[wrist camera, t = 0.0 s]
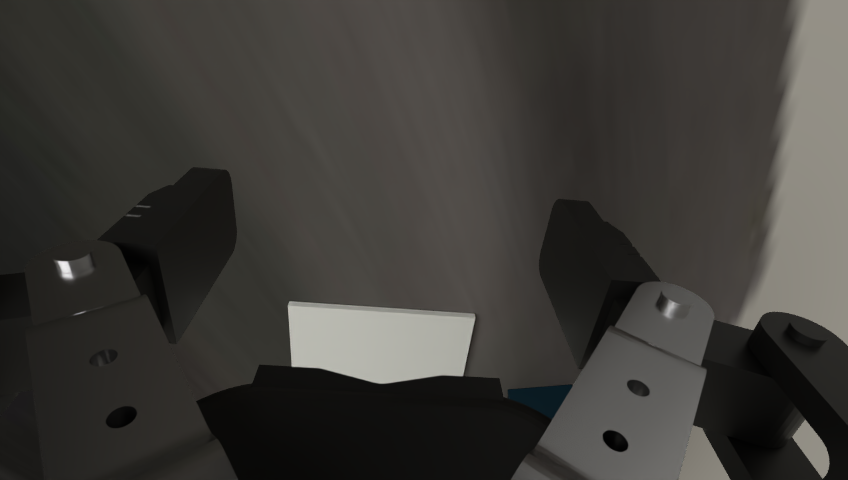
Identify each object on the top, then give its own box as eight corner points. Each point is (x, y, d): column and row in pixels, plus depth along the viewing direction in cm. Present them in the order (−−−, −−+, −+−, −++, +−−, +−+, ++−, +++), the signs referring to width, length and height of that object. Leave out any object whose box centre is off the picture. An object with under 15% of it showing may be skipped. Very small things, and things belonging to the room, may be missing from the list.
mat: (289, 301, 35) (288, 305, 35) (474, 313, 36) (475, 318, 36) (298, 447, 45) (297, 452, 44) (444, 454, 46) (445, 458, 45)
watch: (507, 434, 44) (532, 565, 35) (507, 375, 40) (536, 507, 31) (567, 429, 44) (608, 559, 35) (574, 370, 40) (622, 500, 31)
